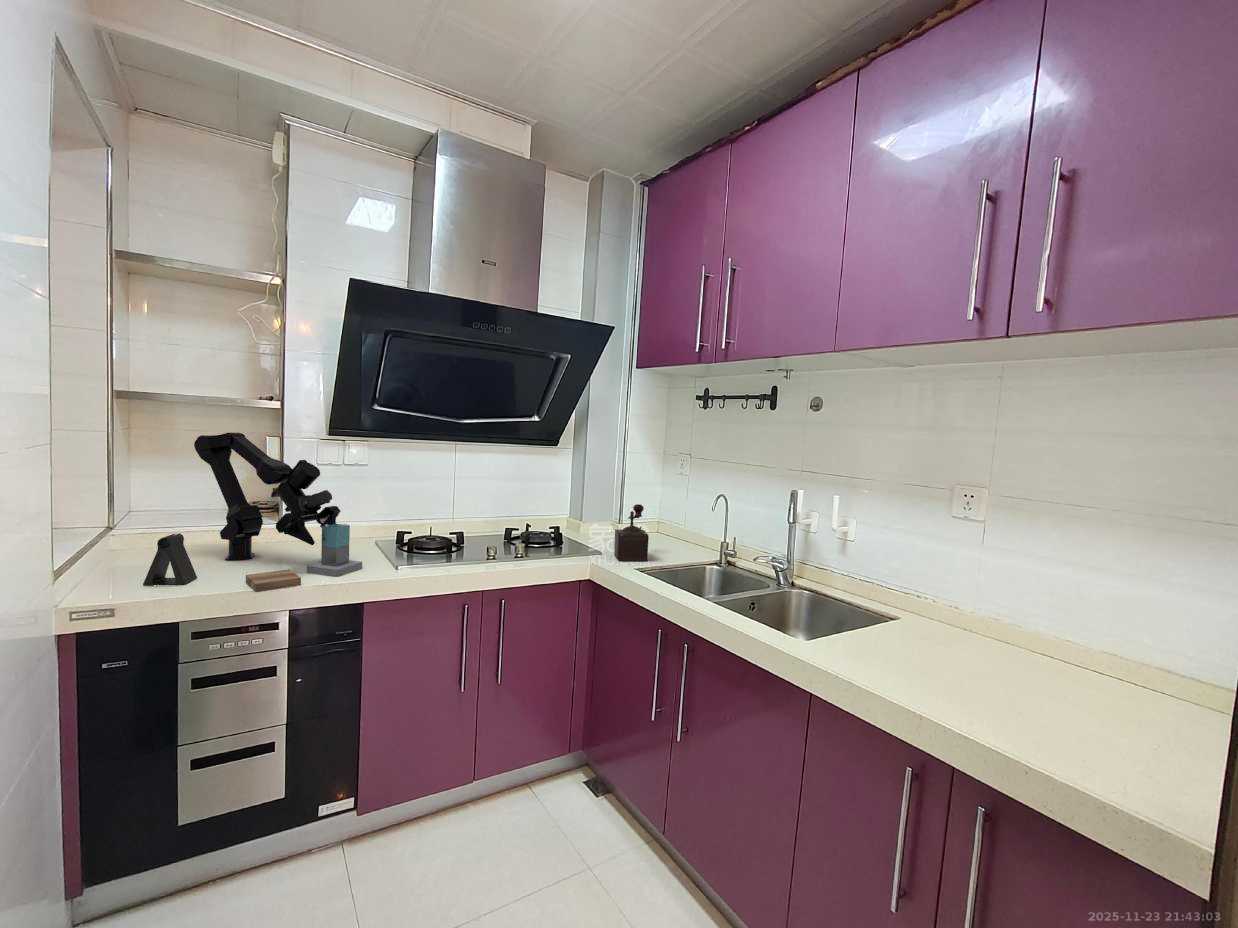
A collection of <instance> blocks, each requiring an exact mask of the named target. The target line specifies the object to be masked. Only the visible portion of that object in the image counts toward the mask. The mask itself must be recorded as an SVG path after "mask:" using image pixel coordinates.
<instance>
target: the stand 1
mask: <svg viewBox="0 0 1238 928" xmlns="http://www.w3.org/2000/svg"><path fill="white" fill-rule="evenodd" d="M245 583H246V584H247V585H248V587H250V588H251V589H252V590H253V591H254V592H255V593H257V592H264V591H272V590H279V589H283V588H284V587H285V588H290V587H291V586H292V587H298V586H297V585H299V586H301V585H302V577H301V576H300V575H298V574H296V572H294V571H292V570H291V569H283V570H282V569H281V570H275V571H267V572H259V573H258V572H257V573H253V574H252V573H250V574H245ZM285 588H284V589H285Z"/></svg>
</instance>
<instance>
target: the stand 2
mask: <svg viewBox="0 0 1238 928" xmlns="http://www.w3.org/2000/svg"><path fill="white" fill-rule="evenodd" d="M361 569H363V561H359V560H353V559H352V560H351V559H349V563H347V564H343V565H340V566H337V567H335V566H327V565H321V561H319V562H315V563H312V564H308V565H306V574H313V575H319V576H320V575H321V576H327V577H334V578H335V577H336V578H337V577H341V576H345V575H347V574H350V573H353V572H356V571H359V570H361Z"/></svg>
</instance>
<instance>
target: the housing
mask: <svg viewBox="0 0 1238 928" xmlns="http://www.w3.org/2000/svg"><path fill="white" fill-rule="evenodd" d="M350 526H351V525H350V524H348V523H344V524H343V523H336V524H331V525H328V524H326V525H325V526H322V528H321V549H320V550H321V551H320V552H321V553H320V554H321V555H320V556H321V557H320V559H321V561H320V562H321V565H327V566H335V567H337V566H340V565H343V564H347V563H349V560H350V539H351V538H350V534H351V533H350V531H351V527H350Z"/></svg>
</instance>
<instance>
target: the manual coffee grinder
mask: <svg viewBox="0 0 1238 928" xmlns="http://www.w3.org/2000/svg"><path fill="white" fill-rule="evenodd" d="M632 508H633V509H632V511H630V515H629V516H628V517H627V519H629V520H630V525H628V526H626V527H624V528H620V529H615V530H614V547H613V548H614V549H613V550H614V552H613V554H614V557H615V559H616V560H617V561H618V562H627V563H628V562H634V563H635V562H639V563H641V562H643V563H644V562H645V563H646V562H648V561H649V560H648V554H649V553H648V552H649V534H648V533H647V532H646V530H644V529H642V526H640V527H638V526H636V525H634V519H639V518H642V517H643V515H642V514H643V513H642V512H643V511H644V506H643V505H642V504H639V503H638V504H637V503H636V504H635V505H633V506H632Z"/></svg>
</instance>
